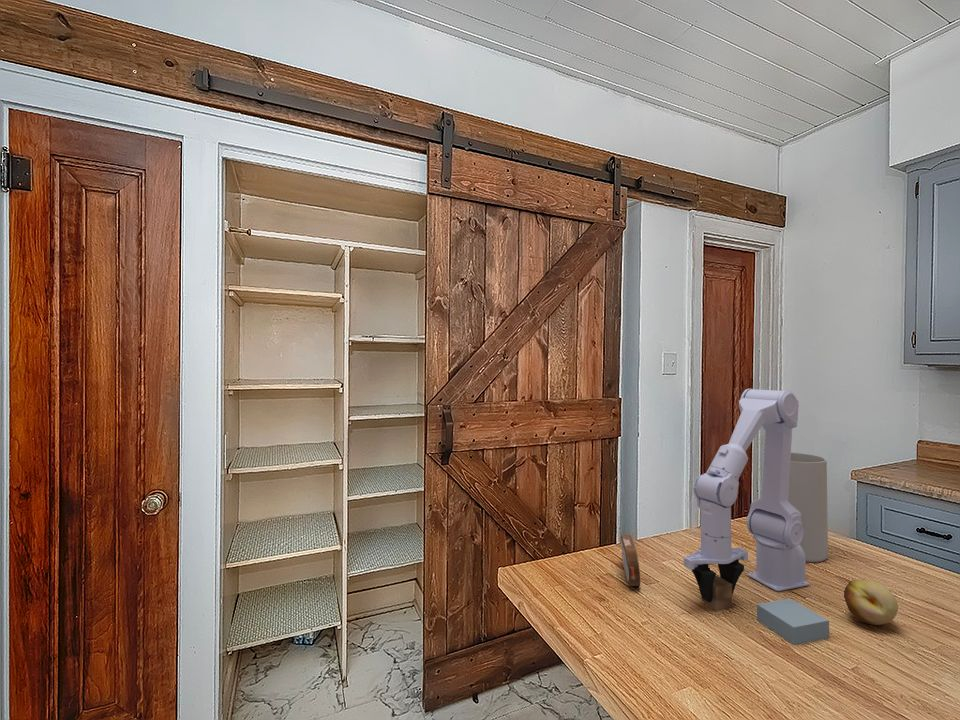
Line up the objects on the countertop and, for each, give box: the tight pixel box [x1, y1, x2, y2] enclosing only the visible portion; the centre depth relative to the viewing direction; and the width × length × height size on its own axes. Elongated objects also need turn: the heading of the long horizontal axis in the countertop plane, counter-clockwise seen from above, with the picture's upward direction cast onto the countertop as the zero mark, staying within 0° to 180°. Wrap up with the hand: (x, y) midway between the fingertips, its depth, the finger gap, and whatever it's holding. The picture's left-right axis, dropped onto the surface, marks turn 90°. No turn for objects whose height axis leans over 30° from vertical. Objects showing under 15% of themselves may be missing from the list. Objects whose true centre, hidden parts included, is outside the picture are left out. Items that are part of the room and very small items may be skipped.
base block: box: [756, 598, 830, 646], centre depth 86 cm, size 8×8×4 cm
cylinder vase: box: [788, 452, 829, 563], centre depth 119 cm, size 12×12×25 cm
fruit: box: [843, 579, 899, 626], centre depth 87 cm, size 8×8×8 cm
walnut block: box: [701, 574, 733, 612], centre depth 95 cm, size 4×4×5 cm
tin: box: [620, 534, 641, 587], centre depth 107 cm, size 15×3×8 cm, turn 168°
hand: (716, 597), depth 95 cm, fingers open, 5 cm apart
